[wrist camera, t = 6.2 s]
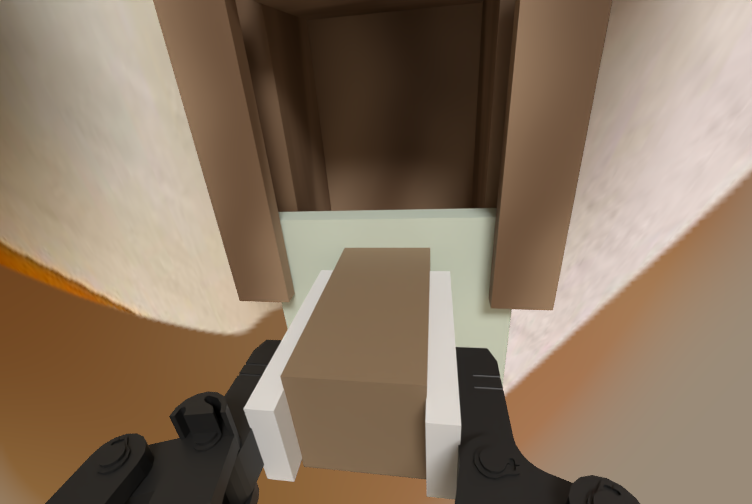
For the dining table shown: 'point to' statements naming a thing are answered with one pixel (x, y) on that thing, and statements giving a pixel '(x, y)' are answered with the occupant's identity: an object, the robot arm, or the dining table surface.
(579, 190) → the dining table surface
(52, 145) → the dining table surface
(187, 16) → the box
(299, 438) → the lid
